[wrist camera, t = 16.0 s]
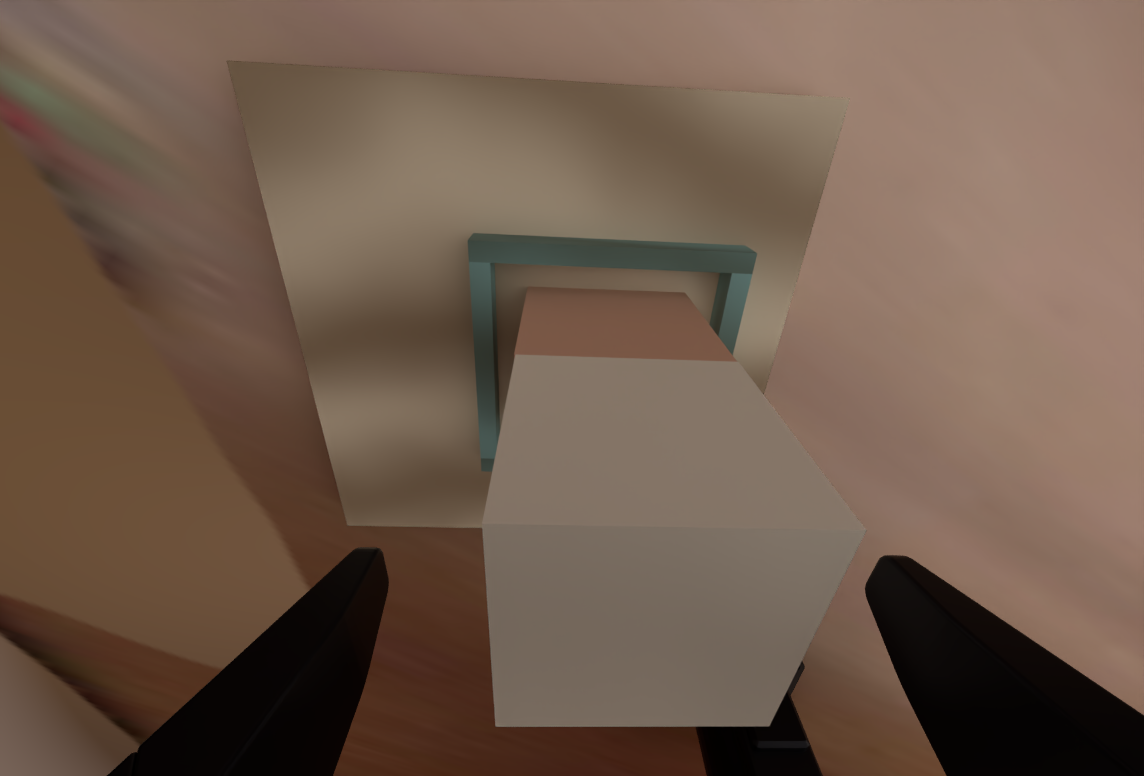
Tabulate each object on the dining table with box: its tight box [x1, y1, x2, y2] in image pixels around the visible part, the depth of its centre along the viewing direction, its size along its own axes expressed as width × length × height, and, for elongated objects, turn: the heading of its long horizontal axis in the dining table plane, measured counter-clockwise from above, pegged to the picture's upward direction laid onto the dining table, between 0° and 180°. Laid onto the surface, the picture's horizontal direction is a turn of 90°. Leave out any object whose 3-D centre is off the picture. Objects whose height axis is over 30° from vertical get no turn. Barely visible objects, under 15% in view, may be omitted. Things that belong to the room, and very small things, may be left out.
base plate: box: [227, 61, 850, 528], centre depth 16 cm, size 16×16×2 cm
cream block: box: [482, 354, 867, 727], centre depth 9 cm, size 5×5×5 cm
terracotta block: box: [514, 287, 737, 362], centre depth 14 cm, size 5×5×5 cm
